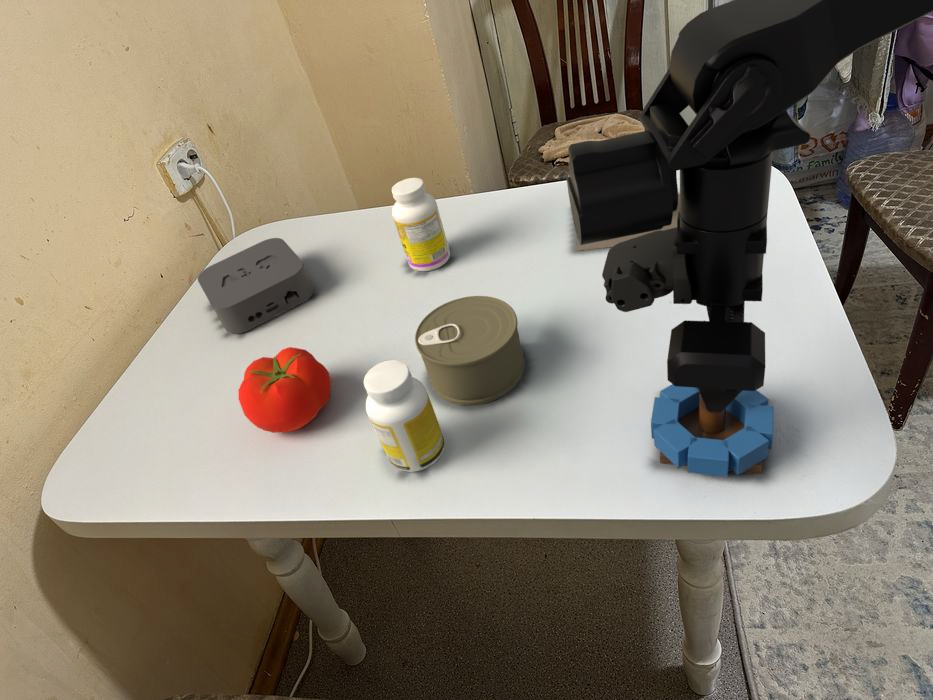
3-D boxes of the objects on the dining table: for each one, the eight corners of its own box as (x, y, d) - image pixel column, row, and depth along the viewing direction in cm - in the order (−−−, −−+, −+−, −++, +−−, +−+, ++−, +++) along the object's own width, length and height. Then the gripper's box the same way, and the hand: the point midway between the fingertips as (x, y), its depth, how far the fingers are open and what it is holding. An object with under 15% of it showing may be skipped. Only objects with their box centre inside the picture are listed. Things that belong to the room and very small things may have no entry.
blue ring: (770, 395, 66) (772, 378, 65) (771, 482, 59) (774, 465, 57) (659, 387, 70) (658, 371, 69) (647, 468, 63) (646, 452, 61)
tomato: (247, 451, 78) (218, 408, 73) (266, 387, 86) (242, 344, 82) (332, 436, 77) (309, 391, 72) (344, 373, 85) (323, 329, 80)
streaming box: (290, 260, 111) (278, 233, 107) (320, 295, 100) (308, 267, 97) (209, 299, 107) (193, 273, 103) (232, 341, 96) (216, 313, 93)
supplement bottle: (412, 251, 104) (389, 177, 96) (453, 245, 103) (433, 170, 95) (405, 276, 99) (380, 200, 91) (448, 270, 98) (426, 193, 90)
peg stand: (760, 403, 67) (767, 343, 62) (760, 474, 61) (767, 414, 56) (668, 396, 70) (667, 339, 65) (660, 463, 64) (657, 405, 59)
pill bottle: (453, 431, 73) (427, 354, 66) (435, 477, 69) (405, 401, 62) (400, 426, 76) (369, 352, 68) (380, 471, 71) (344, 397, 64)
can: (536, 391, 75) (527, 346, 71) (434, 417, 76) (419, 374, 71) (515, 328, 84) (506, 285, 80) (425, 352, 85) (411, 310, 80)
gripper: (623, 154, 55) (633, 301, 65) (584, 290, 43) (603, 446, 53) (769, 145, 51) (756, 303, 61) (773, 293, 39) (756, 461, 48)
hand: (716, 371), depth 56 cm, fingers open, 9 cm apart
